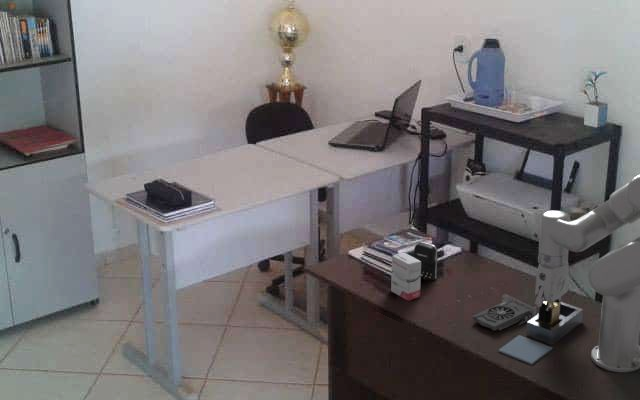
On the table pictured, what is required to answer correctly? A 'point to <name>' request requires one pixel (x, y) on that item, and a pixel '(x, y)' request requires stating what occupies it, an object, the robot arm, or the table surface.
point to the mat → (525, 349)
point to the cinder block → (567, 322)
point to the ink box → (406, 276)
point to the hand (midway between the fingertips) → (548, 317)
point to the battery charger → (427, 260)
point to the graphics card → (505, 314)
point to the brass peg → (553, 314)
